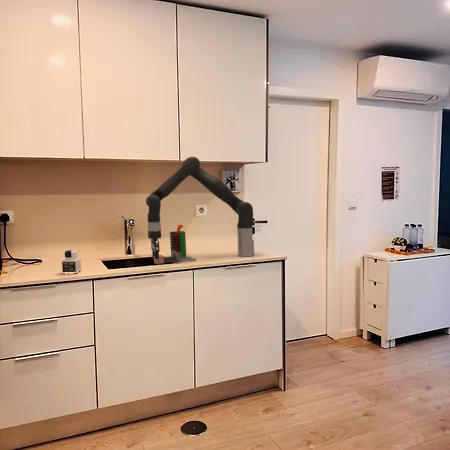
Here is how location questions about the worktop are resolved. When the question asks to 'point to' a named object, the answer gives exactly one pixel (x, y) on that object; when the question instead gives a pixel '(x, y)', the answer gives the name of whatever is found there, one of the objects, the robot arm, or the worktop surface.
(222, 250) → the worktop surface
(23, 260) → the worktop surface
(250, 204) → the robot arm
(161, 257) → the plug
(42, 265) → the worktop surface
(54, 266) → the worktop surface
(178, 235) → the motor
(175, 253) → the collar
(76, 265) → the medicine bottle
